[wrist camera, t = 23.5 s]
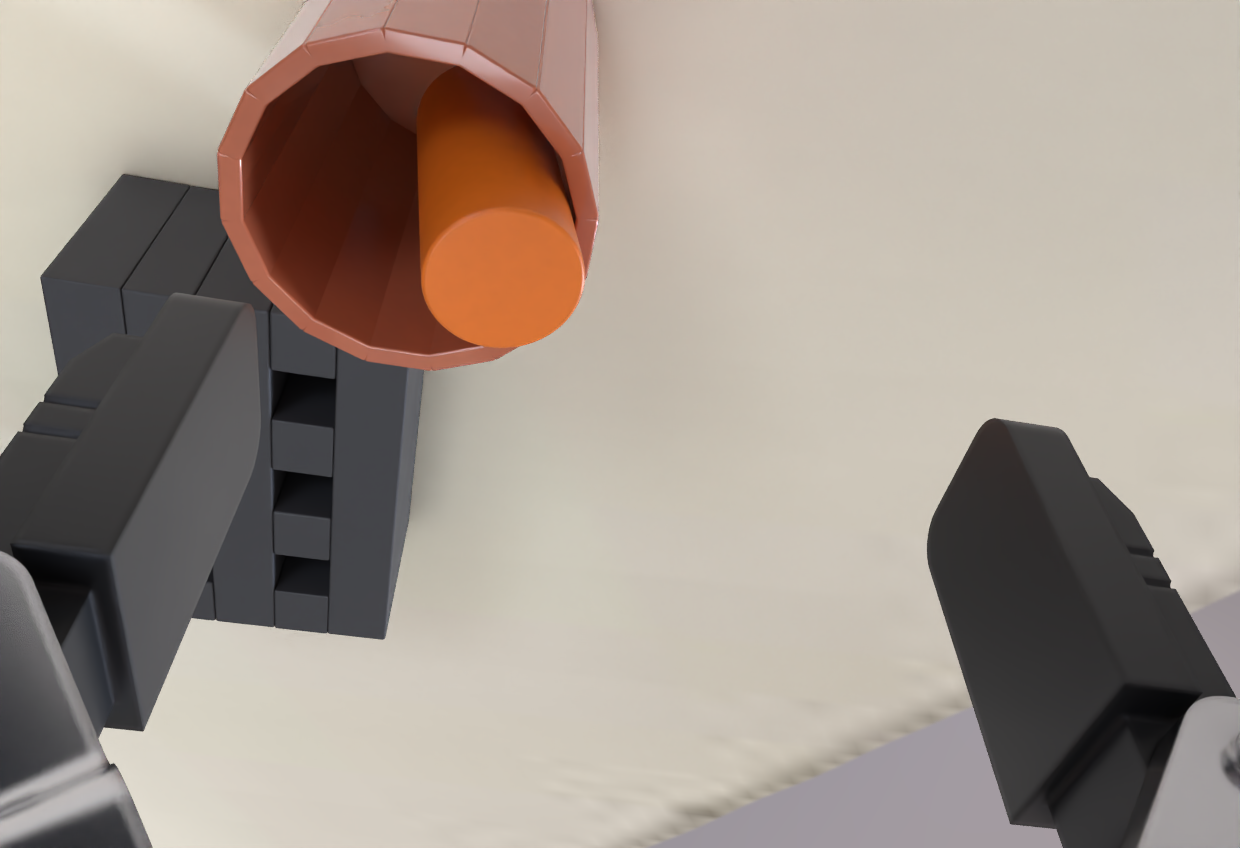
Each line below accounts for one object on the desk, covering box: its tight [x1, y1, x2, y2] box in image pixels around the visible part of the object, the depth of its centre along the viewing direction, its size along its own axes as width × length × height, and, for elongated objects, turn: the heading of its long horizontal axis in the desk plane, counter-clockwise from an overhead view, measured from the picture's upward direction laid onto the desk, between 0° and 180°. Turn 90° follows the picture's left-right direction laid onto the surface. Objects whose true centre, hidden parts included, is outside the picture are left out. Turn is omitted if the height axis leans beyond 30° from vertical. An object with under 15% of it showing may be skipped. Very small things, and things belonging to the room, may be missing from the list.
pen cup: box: [217, 0, 599, 371], centre depth 24 cm, size 7×7×11 cm
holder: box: [41, 174, 424, 640], centre depth 33 cm, size 10×13×6 cm
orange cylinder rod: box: [416, 65, 585, 348], centre depth 23 cm, size 3×3×12 cm
